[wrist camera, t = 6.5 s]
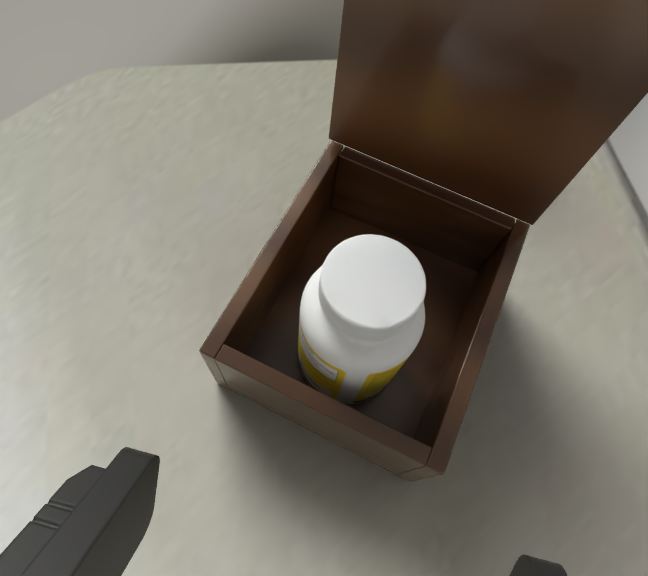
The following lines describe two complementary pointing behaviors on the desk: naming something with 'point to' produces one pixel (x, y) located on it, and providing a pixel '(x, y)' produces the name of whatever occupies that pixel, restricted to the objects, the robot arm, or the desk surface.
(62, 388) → the desk surface
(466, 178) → the box lid
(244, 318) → the storage box
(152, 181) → the desk surface
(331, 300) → the supplement bottle
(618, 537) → the desk surface
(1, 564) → the robot arm
